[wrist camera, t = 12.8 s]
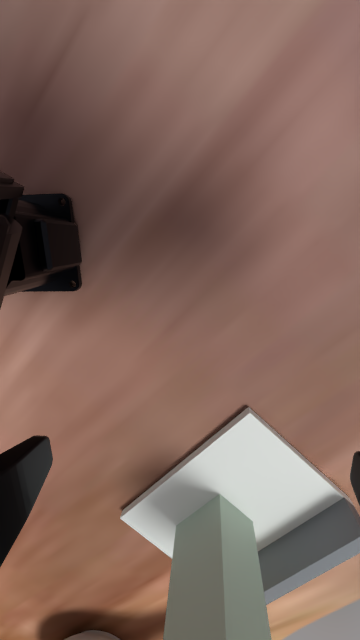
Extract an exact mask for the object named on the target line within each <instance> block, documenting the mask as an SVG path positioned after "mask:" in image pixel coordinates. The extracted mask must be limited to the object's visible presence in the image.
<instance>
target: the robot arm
mask: <svg viewBox="0 0 360 640" xmlns="http://www.w3.org/2000/svg"><path fill="white" fill-rule="evenodd" d="M23 190H24V186H22V185H20V184H18V183H16V182H14V178H12V177H10V176H8V175H6V174H4V173H2V172H0V308H1V305H2V301H3V297H4V296H6V295H10V294H14V293H17V292H25V291H76V290H79V289H80V288H81V285H82V283H81V274H80V266H79V265H80V263H81V262H82V260H81V252H80V243H79V235H78V227H77V225H76V224H75V223H74V216H73V207H72V201H71V198H70V197H69V196H67V195H65V194H39V195H22V194H23ZM62 199H65V201H66V203H65V205H64V206H63V205H62V203H61V200H62ZM72 281H74V282H75V283H76V286H75V287H74V286H73V285H72ZM52 461H53V457H52V451H51V446H50V440H49V438H48V437H47V436H33V437H31V438H29V439H27V440H25V441H23V442H22V443H20V444H18V445H16V446H14V447H13V448H11V449H9V450H7V451H5V452H3V453H2V454H0V567H1V565H2V563H3V561H4V560H5V558H6V556H7V554H8V553H9V551H10V549H11V547H12V545H13V544H14V542H15V540H16V538H17V536H18V535H19V533H20V531H21V529H22V528H23V526H24V524H25V522H26V520H27V518H28V516H29V514H30V512H31V510H32V508H33V506H34V503H35V501H36V499H37V497H38V495H39V492H40V490H41V488H42V486H43V483H44V481H45V479H46V477H47V475H48V472H49V470H50V468H51V465H52ZM350 480H351V484H352V487H353V490H354V492H355V495H356V498H357V500H358V503H359V505H360V451H357V452H355V454H354V456H353V461H352V467H351V473H350Z"/></svg>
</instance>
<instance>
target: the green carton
mask: <svg viewBox="0 0 360 640" xmlns="http://www.w3.org/2000/svg"><path fill="white" fill-rule="evenodd" d="M163 640H271V634H270V628H269V621H268V615H267V608H266V602H265V596H264V589H263V583H262V577H261V570H260V564H259V557H258V551H257V545H256V538H255V532H254V526H253V521H252V520H251V519H249V518H248V517H247V516H246V515H245V514H243V513H242V512H241V511H240V510H239V509H237V508H236V507H235V506H234V505H233V504H231V503H230V502H229V501H228V500H227V499H225V498H224V497H223V496H222V495H221V494H219V495H217V496H216V497H214V498H213V499H212V500H210V501H209V502H208V503H206V504H205V505H204V506H202V507H201V508H200V509H198V510H197V511H195V512H194V513H193V514H191V515H190V516H189V517H187V518H186V519H185V520H183V521H182V522H181V523H179V524H178V525H176V530H175V539H174V548H173V557H172V566H171V575H170V583H169V592H168V601H167V610H166V619H165V627H164V636H163Z"/></svg>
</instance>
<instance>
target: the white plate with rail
mask: <svg viewBox="0 0 360 640" xmlns="http://www.w3.org/2000/svg"><path fill="white" fill-rule="evenodd" d="M219 494H221V495H222V496H223V497H224V498H225V499H227V500H228V501H229V502H230V503H231V504H233V505H234V506H235V507H236V508H237V509H239V510H240V511H241V512H242V513H243V514H245V515H246V516H247V517H248V518H249V519H251V520H252V521H253V526H254V532H255V538H256V545H257V551H258V557H259V564H260V570H261V577H262V583H263V589H264V596H265V602H266V605H267V604H269V603H271V602H272V601H274V600H276V599H278V598H280V597H281V596H283V595H285V594H287V593H289V592H290V591H292V590H294V589H296V588H298V587H299V586H301V585H303V584H305V583H307V582H308V581H310V580H312V579H314V578H316V577H317V576H319V575H321V574H323V573H325V572H326V571H328V570H330V569H332V568H334V567H335V566H337V565H339V564H341V563H343V562H344V561H346V560H348V559H350V558H352V557H353V556H355V555H357V554H359V553H360V516H359V514H358V513H357V511H356V509H355V507H354V505H353V503H352V502H351V500H350V498H349V497H348V496H347V495H346V494H345V493H344V492H343V491H341V490H340V489H339V488H338V487H337V486H336V485H335V484H334V483H333V482H332V481H330V480H329V479H328V478H327V477H326V476H325V475H324V474H323V473H322V472H320V471H319V470H318V469H317V468H316V467H315V466H314V465H313V464H312V463H310V462H309V461H308V460H307V459H306V458H305V457H304V456H303V455H302V454H300V453H299V452H298V451H297V450H296V449H295V448H294V447H293V446H292V445H290V444H289V443H288V442H287V441H286V440H285V439H284V438H283V437H282V436H281V435H279V434H278V433H277V432H276V431H275V430H274V429H273V428H272V427H271V426H269V425H268V424H267V423H266V422H265V421H264V420H263V419H262V418H261V417H259V416H258V415H257V414H256V413H255V412H254V411H253V410H252V409H251V408H249V407H248V408H246V409H245V410H244V411H243V412H242V413H240V414H239V415H238V416H237V417H235V418H234V419H233V420H232V421H231V422H229V423H228V424H227V425H226V426H224V427H223V428H222V429H221V430H220V431H218V432H217V433H216V434H215V435H214V436H212V437H211V438H210V439H209V440H207V441H206V442H205V443H204V444H203V445H201V446H200V447H199V448H198V449H197V450H195V451H194V452H193V453H192V454H190V455H189V456H188V457H187V458H186V459H184V460H183V461H182V462H181V463H179V464H178V465H177V466H176V467H175V468H173V469H172V470H171V471H170V472H169V473H167V474H166V475H165V476H164V477H162V478H161V479H160V480H159V481H158V482H156V483H155V484H154V485H153V486H151V487H150V488H149V489H148V490H147V491H145V492H144V493H143V494H142V495H141V496H139V497H138V498H137V499H136V500H134V501H133V502H132V503H131V504H130V505H128V506H127V507H126V508H125V509H124V510H123V511H122V514H121V517H120V519H122V520H123V521H124V522H126V523H127V524H128V525H129V526H131V527H132V528H133V529H135V530H136V531H137V532H138V533H140V534H141V535H142V536H144V537H145V538H146V539H147V540H149V541H150V542H151V543H153V544H154V545H155V546H156V547H158V548H159V549H160V550H162V551H163V552H164V553H165V554H167V555H168V556H169V557H171V558H172V557H173V548H174V539H175V530H176V525H178V524H179V523H181V522H182V521H183V520H185V519H186V518H187V517H189V516H190V515H191V514H193V513H194V512H195V511H197V510H198V509H200V508H201V507H202V506H204V505H205V504H206V503H208V502H209V501H210V500H212V499H213V498H214V497H216V496H217V495H219Z"/></svg>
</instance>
